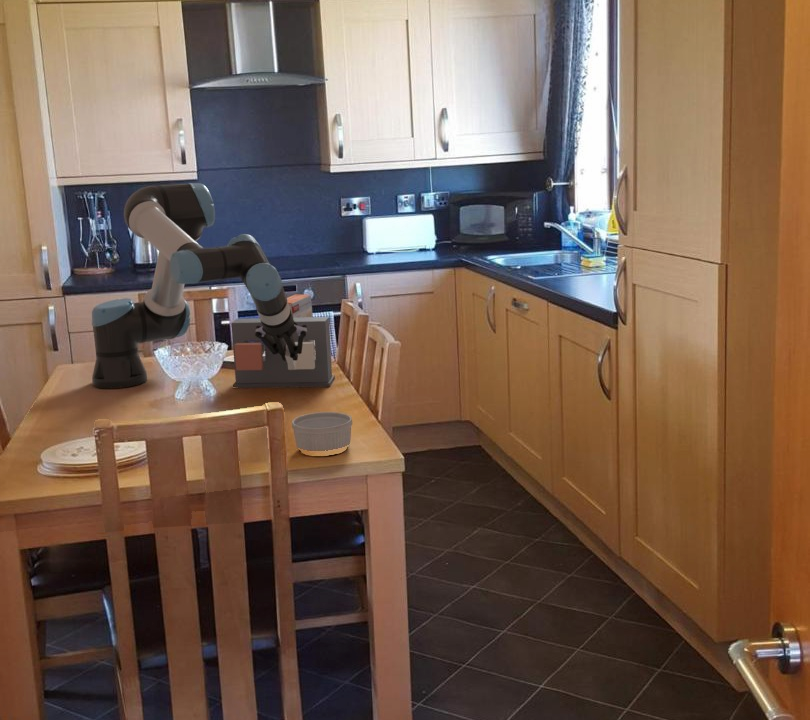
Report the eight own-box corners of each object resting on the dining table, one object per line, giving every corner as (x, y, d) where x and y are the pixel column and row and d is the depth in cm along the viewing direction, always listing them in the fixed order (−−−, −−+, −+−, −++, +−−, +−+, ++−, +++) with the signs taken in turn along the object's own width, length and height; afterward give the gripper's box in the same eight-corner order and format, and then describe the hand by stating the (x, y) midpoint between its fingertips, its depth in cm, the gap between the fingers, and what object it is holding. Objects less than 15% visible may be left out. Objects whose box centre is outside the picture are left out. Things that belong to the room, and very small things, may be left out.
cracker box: (298, 361, 305) (293, 293, 300) (316, 362, 303) (312, 294, 299) (278, 372, 292) (273, 301, 288) (297, 373, 290) (293, 302, 286)
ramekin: (294, 442, 227) (292, 412, 226) (352, 439, 228) (351, 409, 226) (292, 461, 214) (290, 430, 213) (354, 457, 215) (352, 426, 213)
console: (329, 386, 274) (326, 322, 270) (232, 388, 277) (228, 324, 273) (334, 378, 283) (331, 315, 279) (240, 379, 285) (236, 317, 281)
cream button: (313, 369, 267) (312, 343, 266) (288, 369, 268) (286, 343, 266) (320, 360, 277) (319, 335, 276) (295, 360, 278) (294, 335, 276)
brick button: (261, 369, 268) (260, 344, 267) (236, 370, 269) (234, 344, 267) (270, 360, 279) (268, 336, 277) (245, 361, 279) (243, 336, 278)
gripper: (303, 299, 239) (319, 352, 259) (249, 300, 240) (269, 353, 260) (300, 326, 235) (316, 377, 255) (246, 327, 237) (266, 378, 256)
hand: (293, 365), depth 258 cm, fingers closed
